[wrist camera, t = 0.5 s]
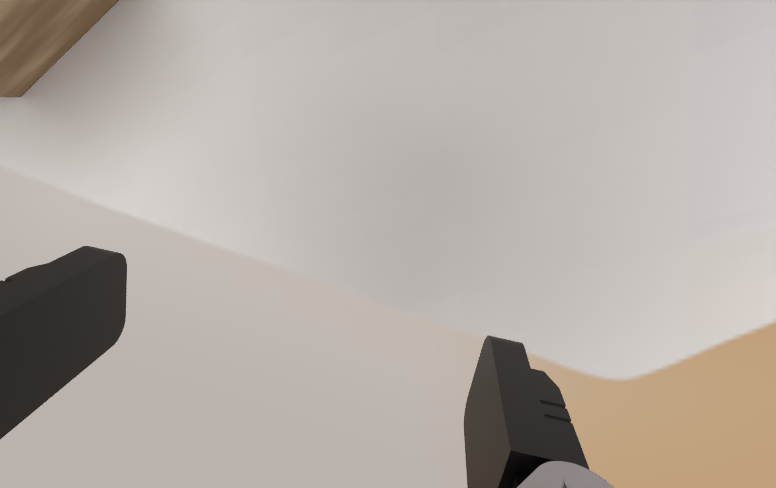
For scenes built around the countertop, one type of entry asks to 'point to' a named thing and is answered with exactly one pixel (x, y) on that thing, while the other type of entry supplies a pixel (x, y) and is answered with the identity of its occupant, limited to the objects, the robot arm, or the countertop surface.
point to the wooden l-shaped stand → (40, 37)
